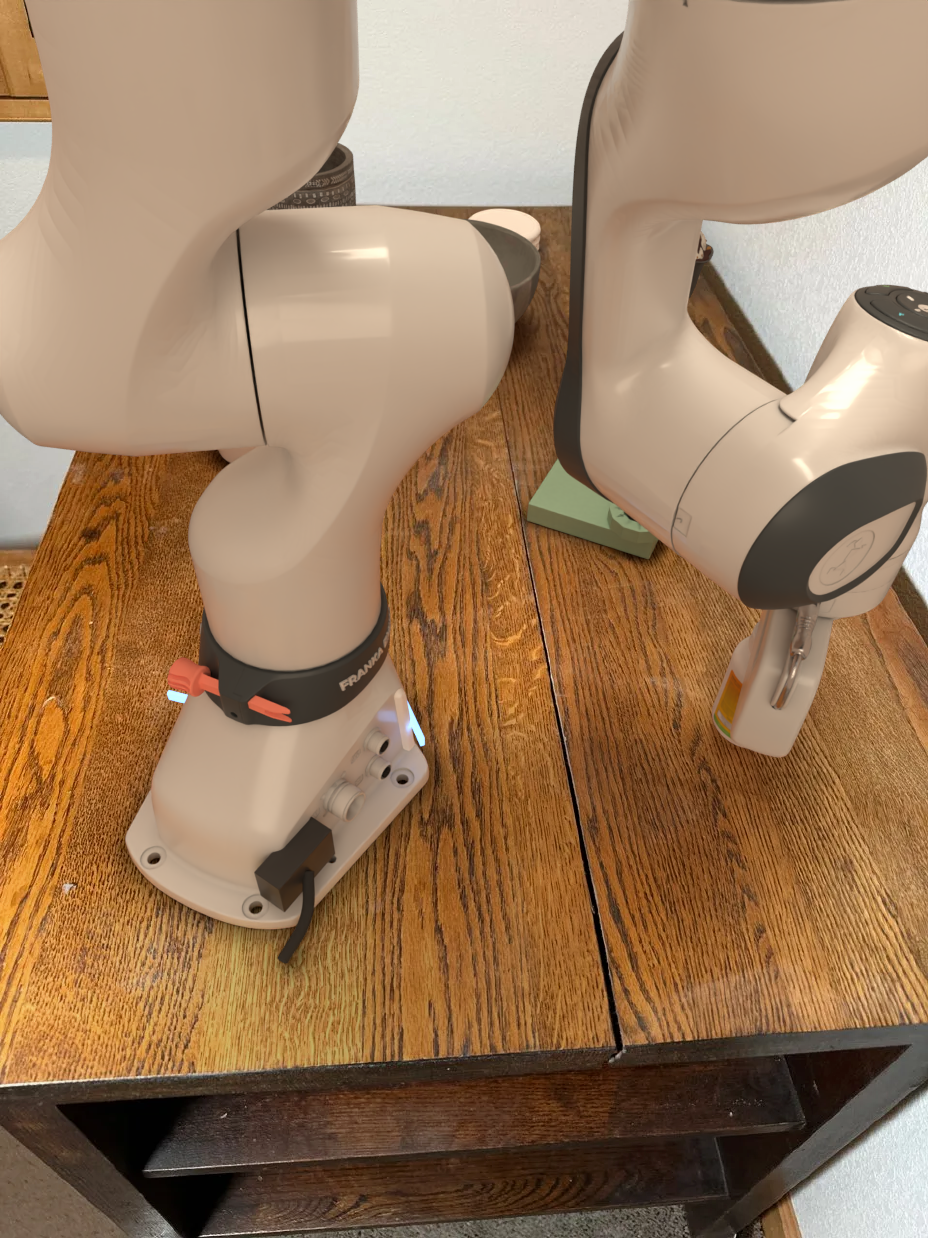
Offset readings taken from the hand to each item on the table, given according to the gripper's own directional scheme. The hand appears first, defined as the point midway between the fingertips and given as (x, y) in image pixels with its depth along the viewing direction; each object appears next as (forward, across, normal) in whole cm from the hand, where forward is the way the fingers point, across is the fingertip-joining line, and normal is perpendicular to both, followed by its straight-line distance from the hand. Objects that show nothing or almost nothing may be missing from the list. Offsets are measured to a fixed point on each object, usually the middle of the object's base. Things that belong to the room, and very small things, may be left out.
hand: (762, 687), depth 67 cm
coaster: (+7, +68, +45) cm, 82 cm away
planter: (+7, +55, +67) cm, 87 cm away
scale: (+6, +24, +17) cm, 30 cm away
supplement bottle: (+4, 0, 0) cm, 4 cm away
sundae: (+7, +57, +20) cm, 60 cm away
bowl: (+7, +45, +43) cm, 63 cm away
